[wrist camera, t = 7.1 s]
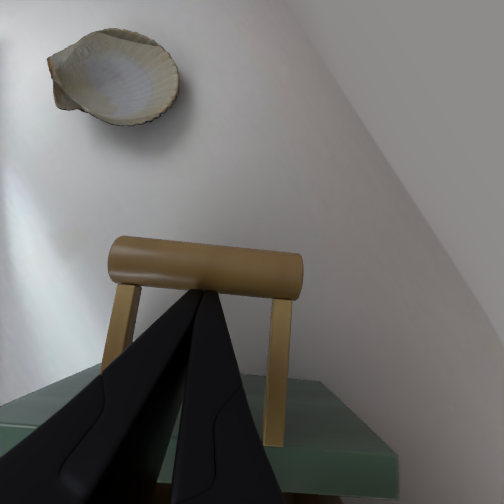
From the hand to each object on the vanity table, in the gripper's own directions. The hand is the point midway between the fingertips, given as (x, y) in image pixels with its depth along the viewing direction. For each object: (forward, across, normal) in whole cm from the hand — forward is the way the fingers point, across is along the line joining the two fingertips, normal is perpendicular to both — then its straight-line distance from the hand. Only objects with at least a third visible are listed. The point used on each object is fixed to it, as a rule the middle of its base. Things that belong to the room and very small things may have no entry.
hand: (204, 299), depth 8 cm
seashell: (+16, +9, -4) cm, 19 cm away
